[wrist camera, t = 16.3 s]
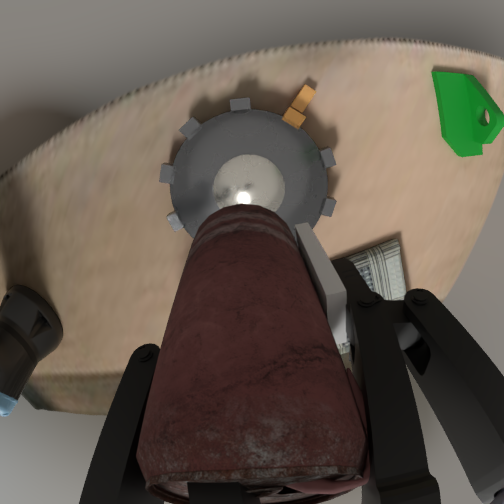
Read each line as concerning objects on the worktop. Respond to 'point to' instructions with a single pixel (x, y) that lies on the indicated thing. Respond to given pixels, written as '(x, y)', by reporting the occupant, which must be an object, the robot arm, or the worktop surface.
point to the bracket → (466, 113)
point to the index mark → (303, 98)
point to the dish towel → (380, 274)
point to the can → (251, 374)
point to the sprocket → (248, 168)
